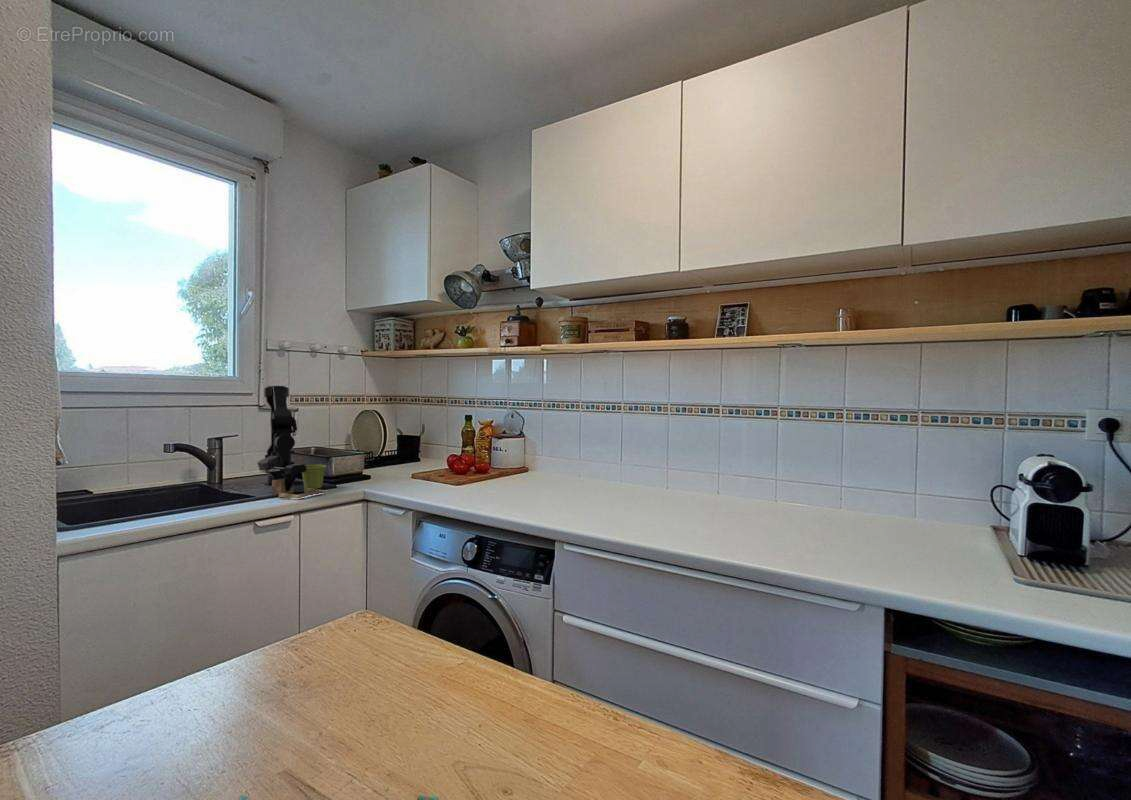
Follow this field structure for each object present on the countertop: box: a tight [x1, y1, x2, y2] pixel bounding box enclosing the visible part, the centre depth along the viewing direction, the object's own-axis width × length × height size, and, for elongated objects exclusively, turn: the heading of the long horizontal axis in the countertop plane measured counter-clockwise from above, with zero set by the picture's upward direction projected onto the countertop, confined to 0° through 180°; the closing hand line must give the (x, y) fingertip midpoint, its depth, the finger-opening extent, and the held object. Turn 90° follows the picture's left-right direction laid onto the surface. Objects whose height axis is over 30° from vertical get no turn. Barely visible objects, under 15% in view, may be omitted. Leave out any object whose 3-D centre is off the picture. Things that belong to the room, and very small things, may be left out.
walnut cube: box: [271, 478, 295, 495], centre depth 189 cm, size 5×5×5 cm
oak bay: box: [278, 487, 326, 499], centre depth 184 cm, size 10×11×2 cm
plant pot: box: [301, 464, 327, 490], centre depth 198 cm, size 9×9×9 cm
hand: (282, 490), depth 189 cm, fingers closed on walnut cube, 5 cm apart
